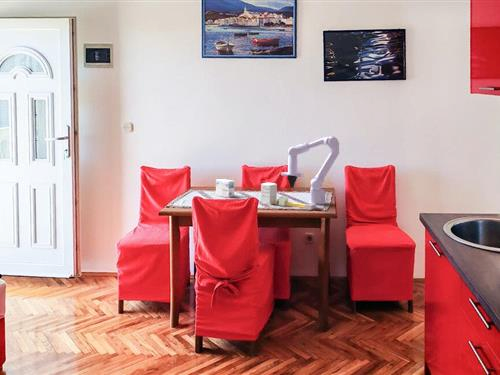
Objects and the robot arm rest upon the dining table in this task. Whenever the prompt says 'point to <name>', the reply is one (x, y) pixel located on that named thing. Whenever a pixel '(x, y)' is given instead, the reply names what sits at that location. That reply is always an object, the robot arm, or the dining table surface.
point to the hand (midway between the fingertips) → (291, 187)
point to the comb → (310, 206)
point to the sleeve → (283, 200)
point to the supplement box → (268, 193)
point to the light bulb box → (225, 188)
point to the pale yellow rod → (291, 204)
